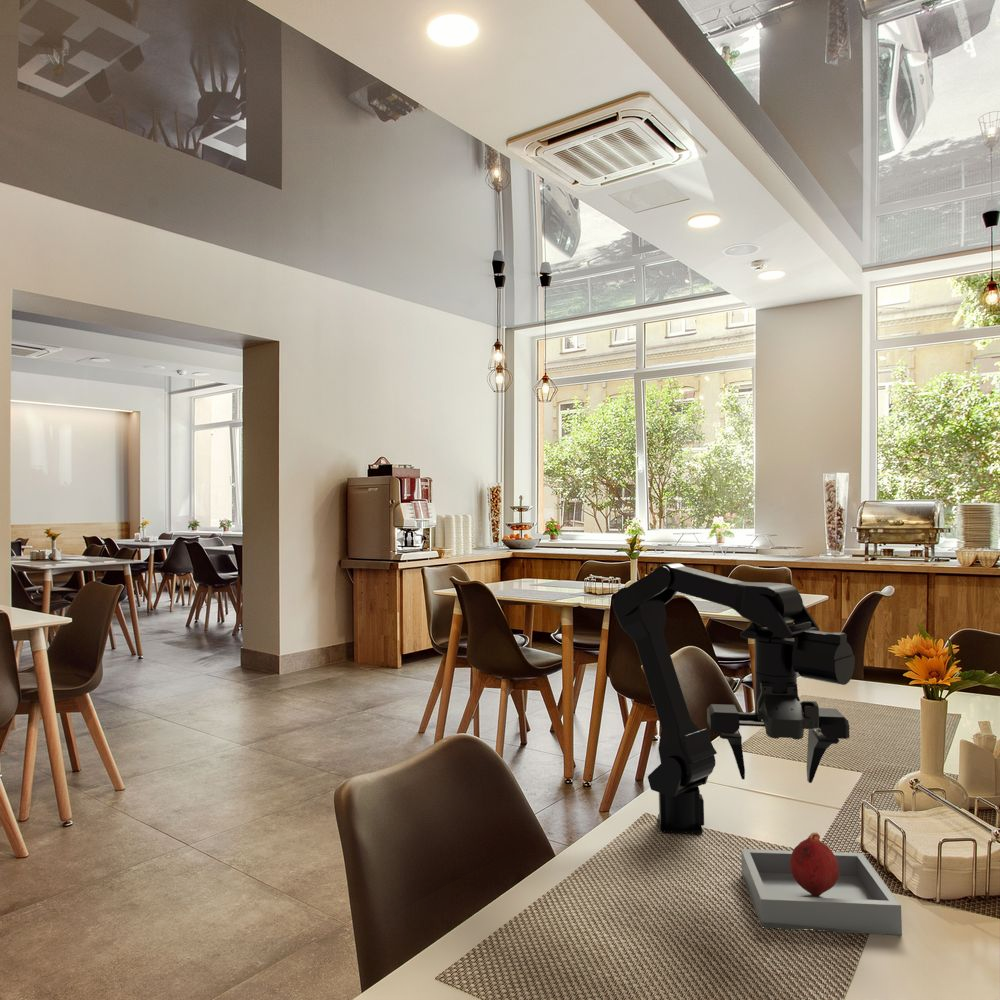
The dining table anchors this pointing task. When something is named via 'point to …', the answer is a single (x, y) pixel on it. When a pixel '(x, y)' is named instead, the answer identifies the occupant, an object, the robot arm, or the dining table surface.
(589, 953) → the dining table surface
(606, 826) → the dining table surface
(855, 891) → the tray
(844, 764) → the dining table surface
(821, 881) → the onion
